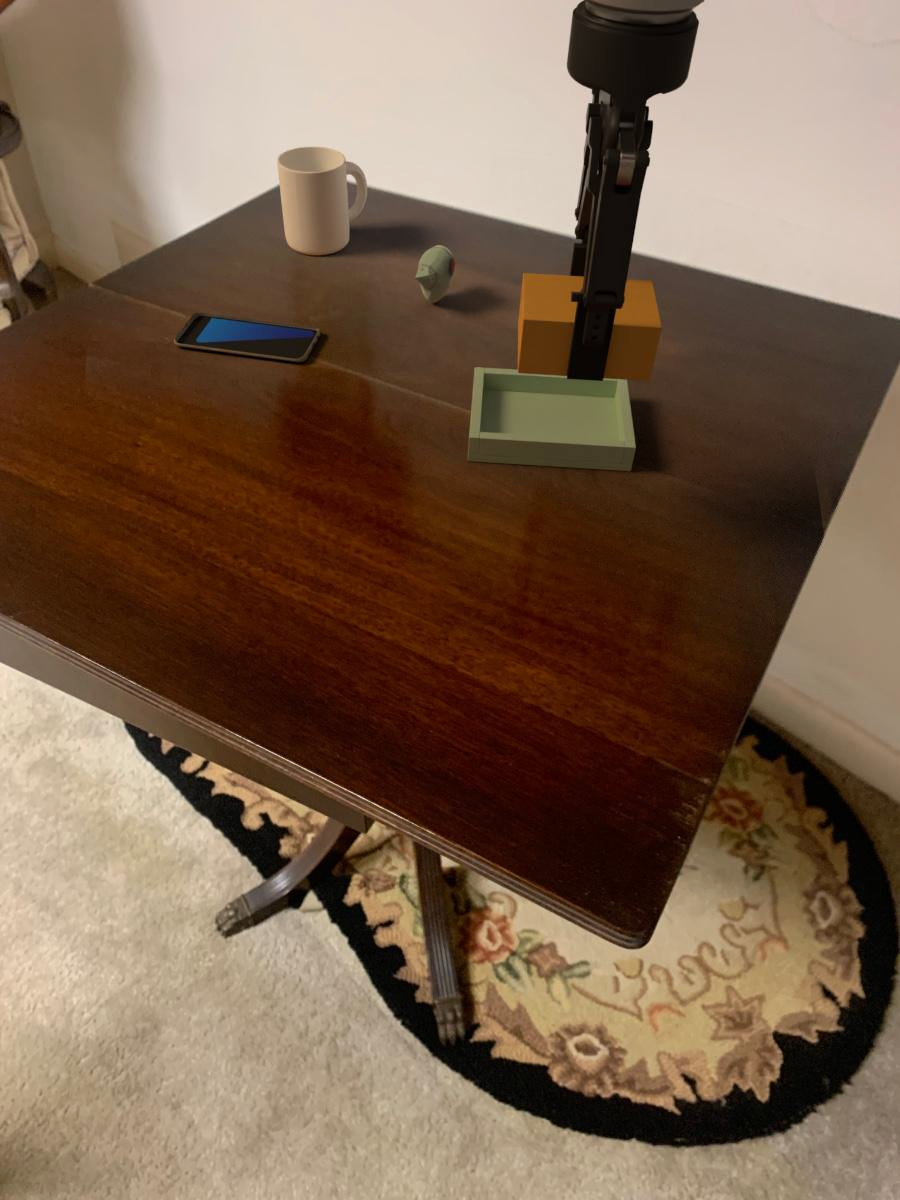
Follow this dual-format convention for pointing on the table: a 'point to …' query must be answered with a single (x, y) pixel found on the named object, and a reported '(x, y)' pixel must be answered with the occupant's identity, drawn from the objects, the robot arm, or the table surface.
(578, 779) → the table surface
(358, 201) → the mug
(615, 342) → the back pad
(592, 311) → the robot arm
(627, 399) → the backing tray
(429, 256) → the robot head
